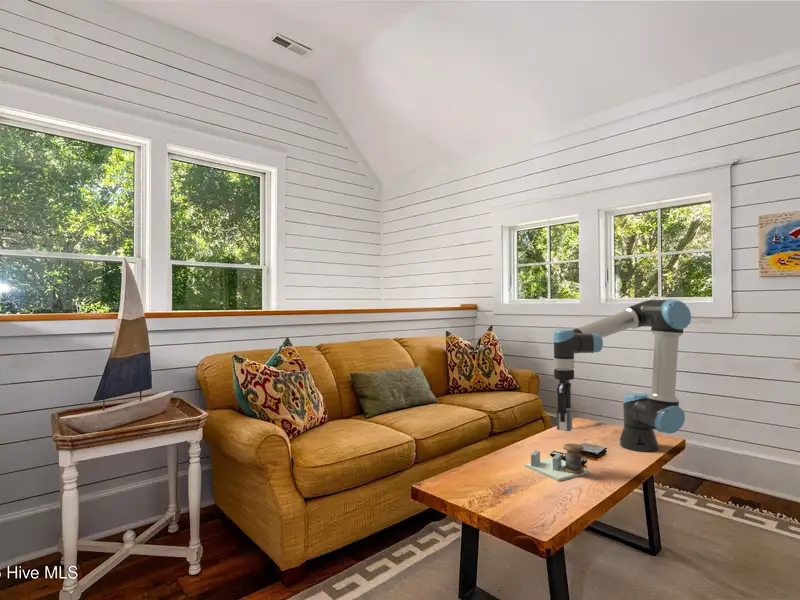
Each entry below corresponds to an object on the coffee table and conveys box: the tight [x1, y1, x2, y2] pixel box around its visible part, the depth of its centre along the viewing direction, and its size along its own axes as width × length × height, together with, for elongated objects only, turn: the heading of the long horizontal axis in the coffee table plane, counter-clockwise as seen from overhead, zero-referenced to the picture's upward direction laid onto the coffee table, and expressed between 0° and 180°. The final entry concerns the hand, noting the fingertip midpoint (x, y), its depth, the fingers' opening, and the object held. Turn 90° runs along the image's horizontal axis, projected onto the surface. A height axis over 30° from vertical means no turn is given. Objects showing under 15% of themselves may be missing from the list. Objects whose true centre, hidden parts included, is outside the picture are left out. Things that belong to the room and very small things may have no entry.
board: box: [524, 456, 590, 482], centre depth 184 cm, size 16×18×1 cm
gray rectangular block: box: [556, 407, 573, 432], centre depth 188 cm, size 4×5×8 cm
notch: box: [530, 450, 562, 471], centre depth 185 cm, size 6×10×4 cm, turn 58°
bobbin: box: [562, 443, 584, 474], centre depth 180 cm, size 7×7×9 cm
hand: (564, 428), depth 188 cm, fingers closed on gray rectangular block, 4 cm apart
